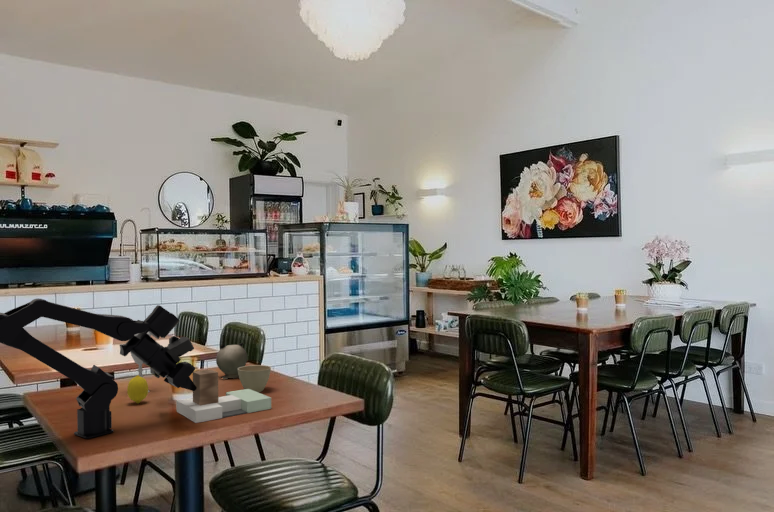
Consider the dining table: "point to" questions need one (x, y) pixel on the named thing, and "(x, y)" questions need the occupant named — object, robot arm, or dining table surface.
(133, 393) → the lemon
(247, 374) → the flower pot
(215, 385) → the walnut block
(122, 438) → the dining table surface
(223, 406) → the board
